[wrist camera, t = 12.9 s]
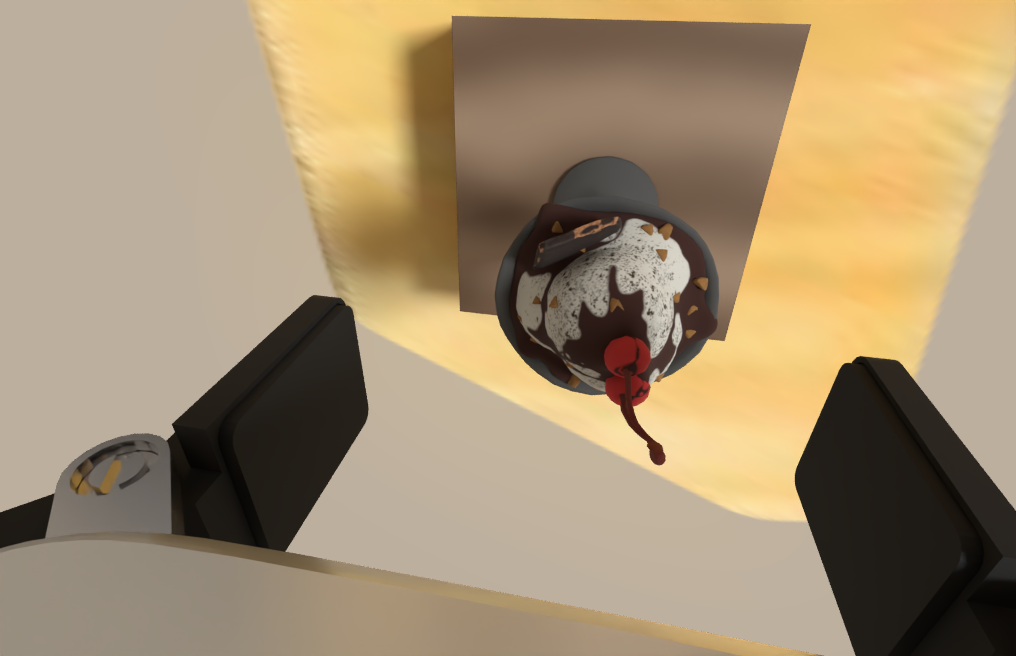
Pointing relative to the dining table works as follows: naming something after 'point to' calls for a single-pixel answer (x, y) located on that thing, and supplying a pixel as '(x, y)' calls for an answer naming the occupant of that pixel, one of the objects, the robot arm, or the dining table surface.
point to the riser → (616, 126)
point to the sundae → (608, 288)
